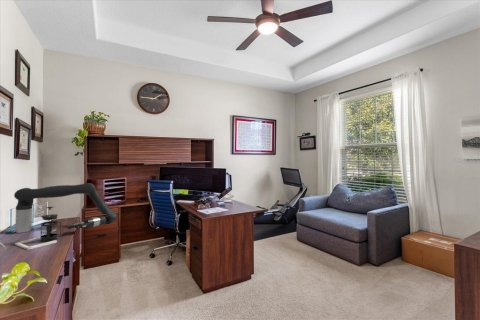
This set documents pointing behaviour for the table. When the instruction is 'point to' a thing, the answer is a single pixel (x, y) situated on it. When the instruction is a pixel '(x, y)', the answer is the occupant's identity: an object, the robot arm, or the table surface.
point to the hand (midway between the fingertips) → (67, 227)
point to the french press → (49, 228)
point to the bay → (34, 245)
